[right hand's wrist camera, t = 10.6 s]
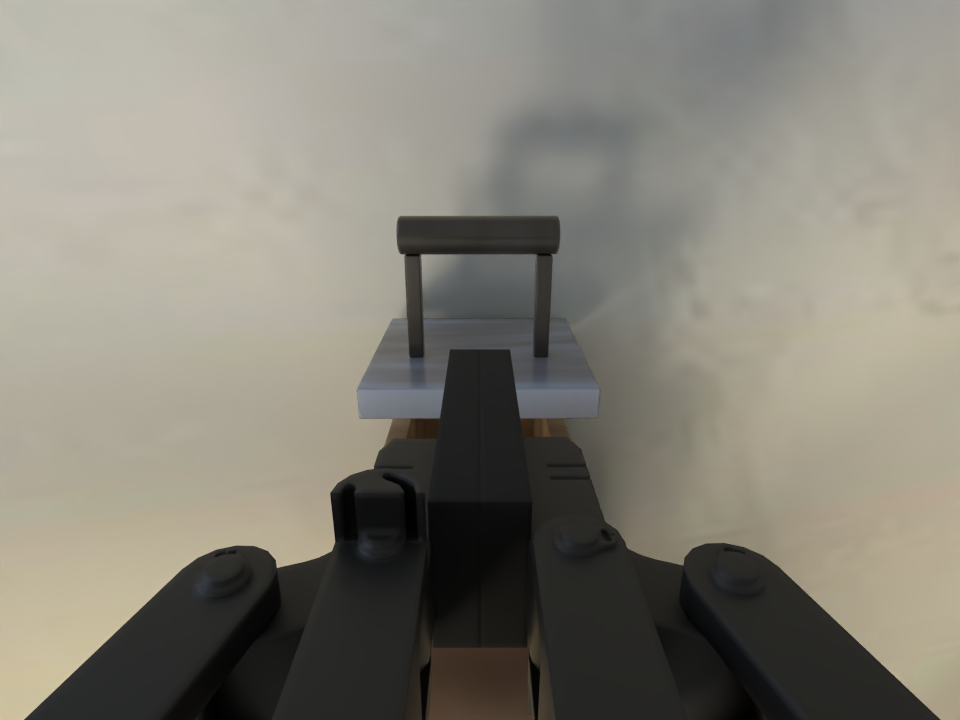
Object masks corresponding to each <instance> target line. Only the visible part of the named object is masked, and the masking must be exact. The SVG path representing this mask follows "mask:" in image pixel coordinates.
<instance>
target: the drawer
mask: <svg viewBox="0 0 960 720" xmlns="http://www.w3.org/2000/svg"><path fill="white" fill-rule="evenodd" d="M559 244H560V221H559V218H558V217H557V216H400V217H399V218H398V220H397V246H398V250H399V253H400V254H406V255H405V257H404V258H405V279H406V301H407V319H392V321H391V323H390V325H389V327H388V329H387V331H386V333H385V335H384V337H383V339H382V341H381V343H380V345H379V346H378V348H377V350H376V352H375V354H374V356H373V358H372V360H371V362H370V364H369V366H368V368H367V370H366V372H365V374H364V376H363V378H362V380H361V382H360V384H359V386H358V388H357V399H358V411H359V418H360V419H393V421H392V424H391V427H390V430H389V433H388V436H387V439H386V443H385V446H386V445H387V444H388V443H389V442H390V441H391V440H393V439H437V434H438V428H439V421H440V414H441V407H442V400H443V393H444V387H445V380H446V373H447V366H448V359H449V352H450V349H510V352H511V359H512V366H513V373H514V380H515V387H516V393H517V400H518V407H519V414H520V421H521V428H522V434H523V437H567V438H569V439H570V440H571V438H570V434H569V431H568V428H567V425H566V422H565V418H598V413H599V400H600V388H599V386H598V384H597V382H596V380H595V378H594V376H593V374H592V371H591V369H590V367H589V365H588V363H587V361H586V359H585V357H584V355H583V353H582V351H581V349H580V347H579V345H578V343H577V341H576V339H575V337H574V335H573V333H572V331H571V329H570V327H569V325H568V323H567V321H566V319H550V305H551V282H552V258H553V257H552V255H551V254H557V253H558V250H559ZM421 254H536V266H535V297H534V319H423V292H422V264H421ZM385 446H384V447H385Z"/></svg>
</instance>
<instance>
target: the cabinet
mask: <svg viewBox="0 0 960 720" xmlns="http://www.w3.org/2000/svg"><path fill="white" fill-rule="evenodd" d="M431 660H432V686H431V697H430V709H429V720H532V719H531V714H526V712H527V686H528V660H529V646H528V636H527V648H433V639H432V649H431Z"/></svg>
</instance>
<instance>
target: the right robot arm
mask: <svg viewBox="0 0 960 720" xmlns="http://www.w3.org/2000/svg"><path fill="white" fill-rule="evenodd" d="M330 494H331V504H332V513H333V523H334V532H335V545H334V548H333V550H332V552H330V553H328V554H326V555H324V556H321V557H319V558H316V559H313V560H310V561H306V562H302V563H298V564H293V565H289V566H284V567H280V568H277V566H276V560H275V559H274V558H273V557H272V556H271V554H270V553H269V552H268V551H266V550H263V549H260V548H258V547H255V546H232V547H228V548H223V549H218V550H215V551H213V552H211V553H208V554H206V555H204V556H201V557H199V558H197V559H196V560H194V561H193V562H192V563H190V564H189V565H188V566H186V567H185V568H184V569H182V570H181V571H180V572H179V573H178V574H177V575H176V576H175V577H174V578H173V579H172V580H171V581H170V582H168V583H167V584H166V585H165V586H164V587H163V588H162V589H161V590H160V591H159V592H158V593H157V594H156V595H155V596H154V597H153V598H152V599H151V600H150V601H148V602H147V603H146V604H145V605H144V606H143V607H142V608H141V609H140V610H139V611H138V612H137V613H136V614H135V615H134V616H133V617H132V618H131V619H130V620H129V621H127V622H126V623H125V624H124V625H123V626H122V627H121V628H120V629H119V630H118V631H117V632H116V633H115V634H114V635H113V636H112V637H111V638H110V639H109V640H107V641H106V642H105V643H104V644H103V645H102V646H101V647H100V648H99V649H98V650H97V651H96V652H95V653H94V654H93V655H92V656H91V657H90V658H89V659H88V660H86V661H85V662H84V663H83V664H82V665H81V666H80V667H79V668H78V669H77V670H76V671H75V672H74V673H73V674H72V675H71V676H70V677H69V678H68V679H66V680H65V681H64V682H63V683H62V684H61V685H60V686H59V687H58V688H57V689H56V690H55V691H54V692H53V693H52V694H51V695H50V696H49V697H48V698H47V699H45V700H44V701H43V702H42V703H41V704H40V705H39V706H38V707H37V708H36V709H35V710H34V711H33V712H32V713H31V714H30V715H29V716H28V717H27V718H26V719H24V720H429V709H430V697H431V686H432V660H431V649H432V639H433V648H527V636H528V646H529V660H528V686H527V712H526V714H531V719H532V720H940V719H939V718H938V717H937V716H936V715H935V714H934V713H933V712H932V711H931V710H930V709H928V708H927V707H926V706H925V705H924V704H923V703H922V702H921V701H920V700H919V699H918V698H917V697H916V696H915V695H914V694H913V693H912V692H910V691H909V690H908V689H907V688H906V687H905V686H904V685H903V684H902V683H901V682H900V681H899V680H898V679H897V678H896V677H895V676H894V675H892V674H891V673H890V672H889V671H888V670H887V669H886V668H885V667H884V666H883V665H882V664H881V663H880V662H879V661H878V660H877V659H876V658H874V657H873V656H872V655H871V654H870V653H869V652H868V651H867V650H866V649H865V648H864V647H863V646H862V645H861V644H860V643H859V642H858V641H856V640H855V639H854V638H853V637H852V636H851V635H850V634H849V633H848V632H847V631H846V630H845V629H844V628H843V627H842V626H841V625H839V624H838V623H837V622H836V621H835V620H834V619H833V618H832V617H831V616H830V615H829V614H828V613H827V612H826V611H825V610H824V609H823V608H821V607H820V606H819V605H818V604H817V603H816V602H815V601H814V600H813V599H812V598H811V597H810V596H809V595H808V594H807V593H806V592H805V591H803V590H802V589H801V588H800V587H799V586H798V585H797V584H796V583H795V582H794V581H793V580H792V579H791V578H790V577H789V576H788V575H787V574H785V573H784V572H783V571H782V570H781V569H780V568H779V567H778V566H777V565H775V564H774V563H772V562H771V561H770V560H768V559H767V558H765V557H764V556H763V555H761V554H758V553H756V552H754V551H751V550H749V549H747V548H744V547H740V546H735V545H731V544H726V543H712V544H704V545H701V546H699V547H696V548H693V549H692V550H691V551H690V552H689V553H688V555H687V556H686V557H685V560H684V566H682V565H678V564H673V563H669V562H664V561H660V560H655V559H652V558H649V557H645V556H642V555H640V554H637V553H635V552H633V551H631V550H629V549H627V547H626V544H625V541H624V540H623V538H622V537H621V535H620V534H619V532H618V531H617V530H616V529H615V528H613V527H612V526H610V525H609V524H607V523H606V522H605V520H604V517H603V514H602V511H601V508H600V505H599V502H598V499H597V496H596V493H595V490H594V487H593V484H592V481H591V480H590V475H589V472H588V469H587V467H586V463H585V460H584V457H583V454H582V451H581V449H580V448H579V447H578V446H576V445H575V444H574V443H573V442H572V441H571V440H570V439H569V438H567V437H523V434H522V428H521V421H520V414H519V407H518V400H517V393H516V387H515V380H514V373H513V366H512V359H511V352H510V349H450V352H449V359H448V366H447V373H446V380H445V387H444V393H443V400H442V407H441V414H440V421H439V428H438V434H437V439H393V440H391V441H390V442H389V443H388V444H387V445H386V446H385V447H383V448H382V449H381V450H380V451H379V453H378V456H377V459H376V462H375V465H374V469H372V470H366V471H362V472H359V473H356V474H353V475H350V476H349V477H347V478H346V479H344V480H342V481H341V482H339V483H338V484H337V485H336V486H335V488H334V489H333V490H332V492H331V493H330Z"/></svg>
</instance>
